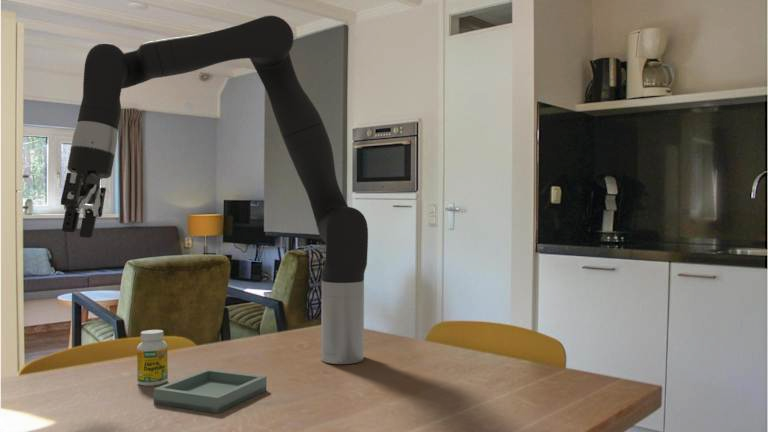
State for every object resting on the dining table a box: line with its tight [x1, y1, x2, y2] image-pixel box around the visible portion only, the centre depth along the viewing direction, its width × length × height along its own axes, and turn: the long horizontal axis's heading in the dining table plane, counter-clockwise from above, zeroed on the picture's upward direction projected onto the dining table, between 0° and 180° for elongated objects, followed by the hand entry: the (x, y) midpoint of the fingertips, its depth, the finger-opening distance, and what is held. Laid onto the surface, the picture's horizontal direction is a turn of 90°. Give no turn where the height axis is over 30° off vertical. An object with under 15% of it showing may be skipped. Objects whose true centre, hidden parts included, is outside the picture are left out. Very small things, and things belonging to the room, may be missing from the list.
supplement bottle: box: [136, 329, 169, 387], centre depth 117 cm, size 5×5×10 cm
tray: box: [153, 368, 268, 414], centre depth 108 cm, size 14×13×2 cm
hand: (77, 235), depth 114 cm, fingers open, 8 cm apart
